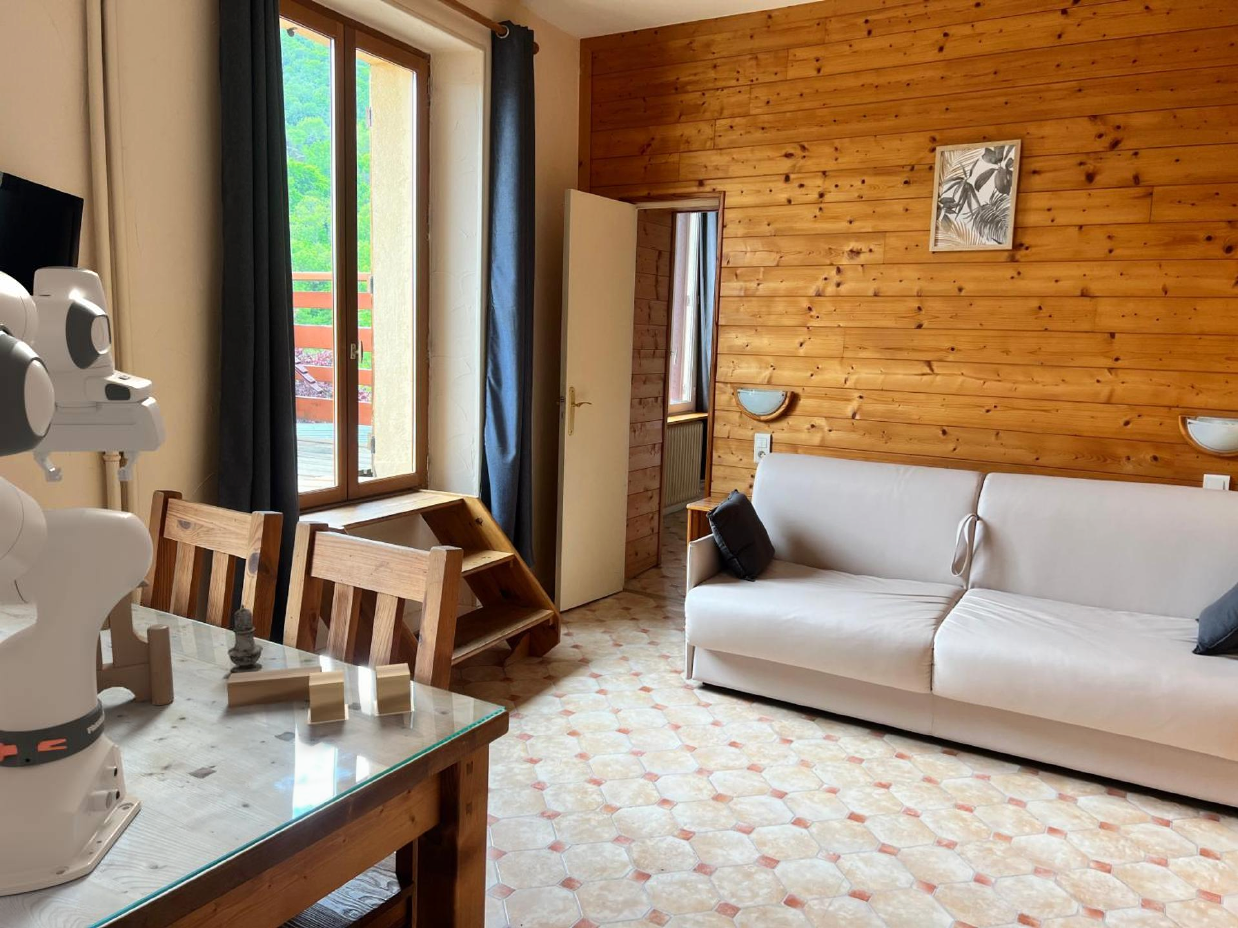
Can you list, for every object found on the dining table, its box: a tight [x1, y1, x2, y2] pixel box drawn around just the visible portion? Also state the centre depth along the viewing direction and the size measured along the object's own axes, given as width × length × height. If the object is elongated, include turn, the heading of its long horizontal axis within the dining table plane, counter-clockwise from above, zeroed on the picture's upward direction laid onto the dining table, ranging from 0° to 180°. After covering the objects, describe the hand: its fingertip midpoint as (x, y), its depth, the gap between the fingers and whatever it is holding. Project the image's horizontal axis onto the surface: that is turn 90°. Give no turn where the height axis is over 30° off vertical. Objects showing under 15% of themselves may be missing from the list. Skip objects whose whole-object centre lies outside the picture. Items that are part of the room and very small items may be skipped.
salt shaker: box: [227, 603, 264, 674], centre depth 158 cm, size 6×6×12 cm
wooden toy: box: [96, 577, 175, 706], centre depth 141 cm, size 15×7×25 cm, turn 120°
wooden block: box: [226, 665, 323, 708], centre depth 145 cm, size 4×14×5 cm, turn 105°
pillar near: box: [309, 669, 346, 723], centre depth 138 cm, size 5×5×6 cm
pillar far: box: [375, 662, 412, 714], centre depth 141 cm, size 5×5×6 cm
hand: (90, 480), depth 127 cm, fingers open, 8 cm apart
